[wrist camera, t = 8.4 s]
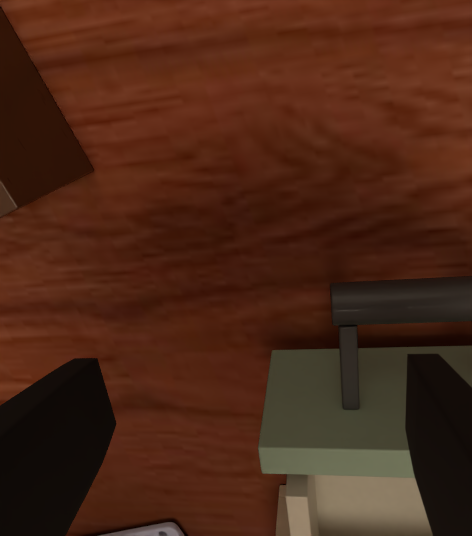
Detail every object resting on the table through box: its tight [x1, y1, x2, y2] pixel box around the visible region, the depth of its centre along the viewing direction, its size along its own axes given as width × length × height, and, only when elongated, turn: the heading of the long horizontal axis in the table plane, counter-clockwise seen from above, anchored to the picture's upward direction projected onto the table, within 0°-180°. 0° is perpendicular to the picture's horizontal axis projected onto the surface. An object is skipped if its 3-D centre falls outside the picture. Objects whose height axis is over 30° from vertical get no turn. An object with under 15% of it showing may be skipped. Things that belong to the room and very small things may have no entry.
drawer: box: [258, 276, 472, 536], centre depth 18 cm, size 18×11×6 cm, turn 8°
